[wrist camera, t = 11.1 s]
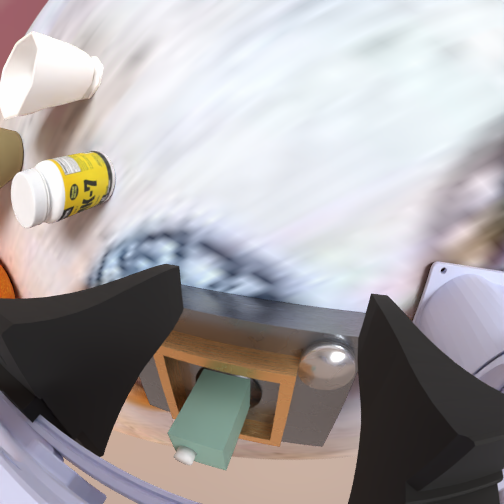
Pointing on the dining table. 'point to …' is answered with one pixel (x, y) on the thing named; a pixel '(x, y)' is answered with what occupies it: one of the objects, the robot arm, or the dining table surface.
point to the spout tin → (211, 420)
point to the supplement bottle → (61, 187)
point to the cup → (46, 75)
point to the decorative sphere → (5, 285)
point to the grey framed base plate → (261, 361)
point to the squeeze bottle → (10, 155)
